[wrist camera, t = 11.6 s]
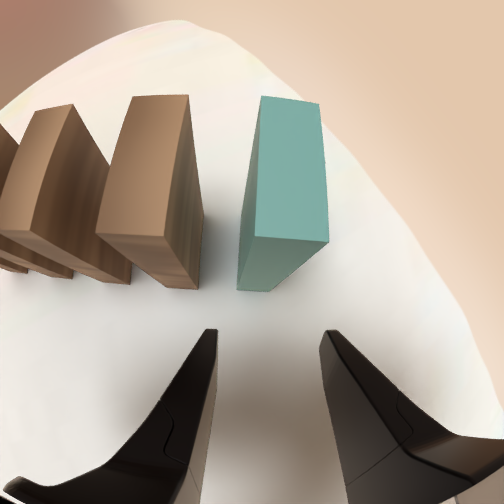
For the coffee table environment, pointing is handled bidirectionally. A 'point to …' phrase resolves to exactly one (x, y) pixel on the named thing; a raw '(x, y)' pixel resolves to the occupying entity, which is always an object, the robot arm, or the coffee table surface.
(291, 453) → the coffee table surface
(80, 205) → the brown wooden block
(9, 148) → the brown wooden plank
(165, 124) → the tile
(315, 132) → the tile
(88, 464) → the coffee table surface
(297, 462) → the coffee table surface
